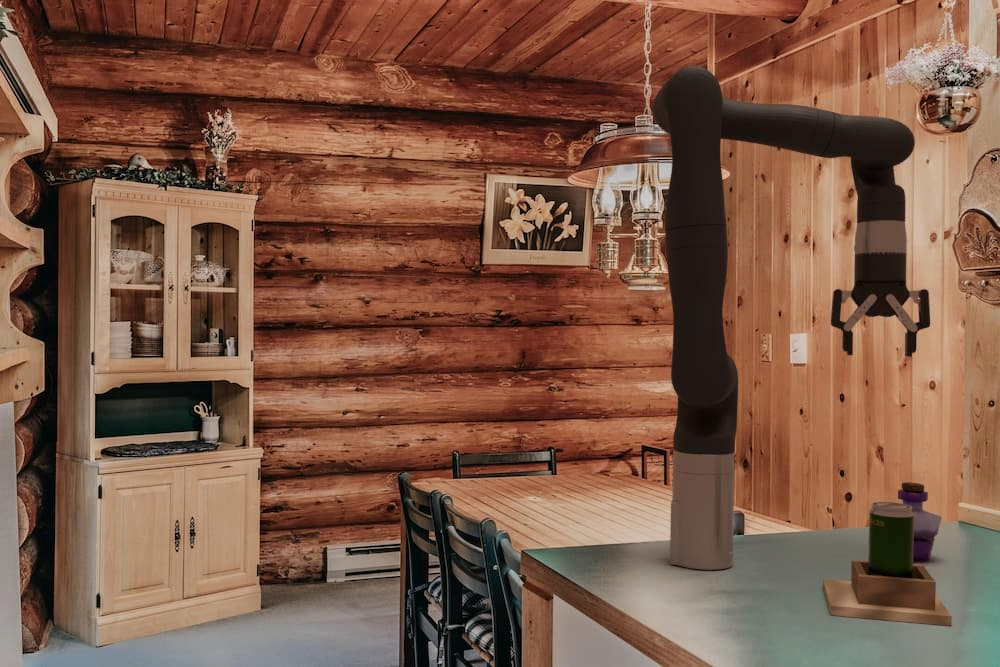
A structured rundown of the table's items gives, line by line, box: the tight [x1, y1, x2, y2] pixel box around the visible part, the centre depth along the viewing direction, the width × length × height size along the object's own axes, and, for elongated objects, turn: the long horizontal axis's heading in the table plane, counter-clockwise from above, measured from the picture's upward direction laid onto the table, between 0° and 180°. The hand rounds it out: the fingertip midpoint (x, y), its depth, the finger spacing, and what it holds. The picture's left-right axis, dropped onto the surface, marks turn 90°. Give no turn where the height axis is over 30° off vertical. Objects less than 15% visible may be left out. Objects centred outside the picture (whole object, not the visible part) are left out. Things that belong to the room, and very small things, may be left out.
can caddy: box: [822, 559, 953, 627], centre depth 122 cm, size 14×13×5 cm
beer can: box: [868, 501, 914, 579], centre depth 122 cm, size 5×5×12 cm
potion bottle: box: [897, 481, 942, 564], centre depth 148 cm, size 9×9×12 cm
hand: (878, 355), depth 145 cm, fingers open, 8 cm apart
